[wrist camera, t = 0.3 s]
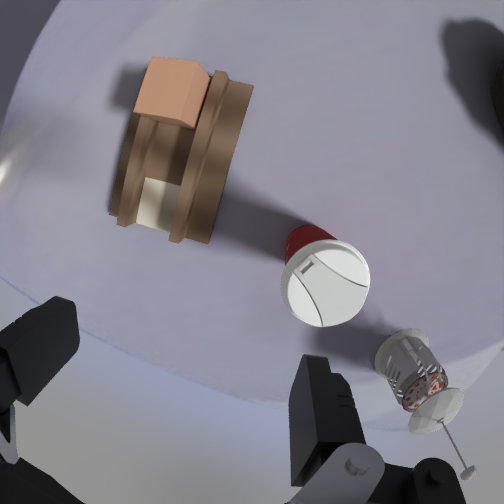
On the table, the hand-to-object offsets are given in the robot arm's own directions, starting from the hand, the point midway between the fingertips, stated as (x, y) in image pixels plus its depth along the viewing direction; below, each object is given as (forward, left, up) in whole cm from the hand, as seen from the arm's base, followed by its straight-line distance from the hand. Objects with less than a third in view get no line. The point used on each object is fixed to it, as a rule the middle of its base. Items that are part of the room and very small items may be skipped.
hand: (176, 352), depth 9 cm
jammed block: (-12, -11, -27) cm, 31 cm away
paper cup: (+1, +8, -28) cm, 29 cm away
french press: (+12, +28, -28) cm, 42 cm away
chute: (-6, -11, -28) cm, 30 cm away
